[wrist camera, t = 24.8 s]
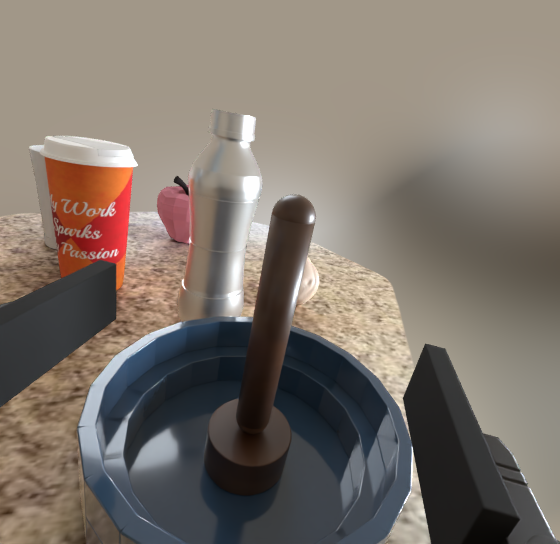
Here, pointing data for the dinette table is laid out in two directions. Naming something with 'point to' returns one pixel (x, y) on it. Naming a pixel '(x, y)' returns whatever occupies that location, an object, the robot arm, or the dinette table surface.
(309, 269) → the garlic bulb
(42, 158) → the cup
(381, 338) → the dinette table surface
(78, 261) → the coffee cup
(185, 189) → the apple
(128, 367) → the bowl
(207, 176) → the silver water bottle
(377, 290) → the dinette table surface
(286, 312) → the wooden stamp handle
